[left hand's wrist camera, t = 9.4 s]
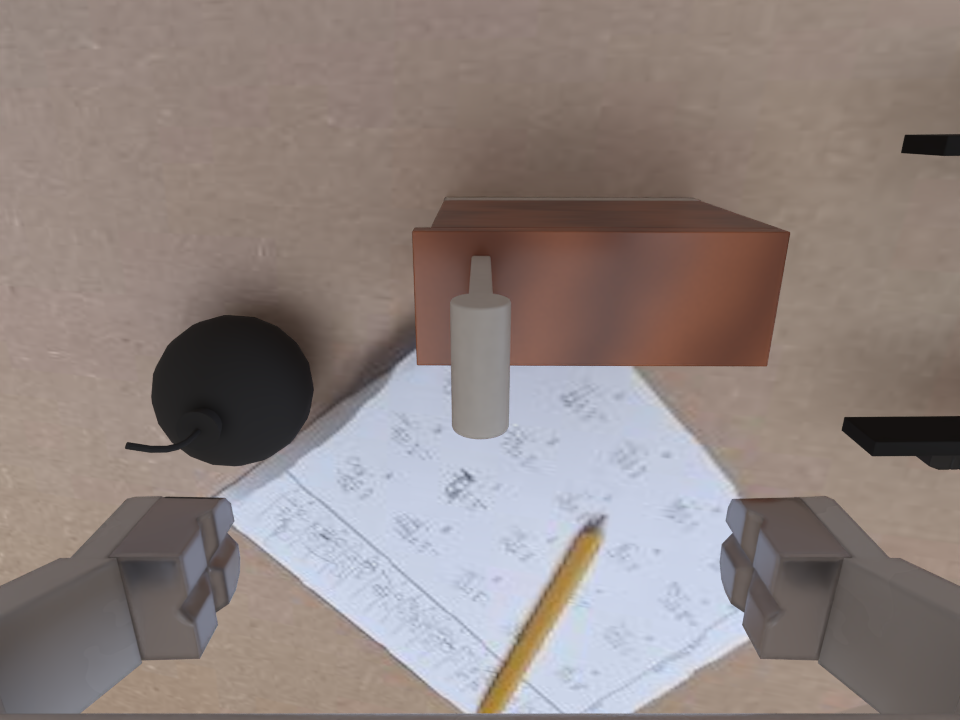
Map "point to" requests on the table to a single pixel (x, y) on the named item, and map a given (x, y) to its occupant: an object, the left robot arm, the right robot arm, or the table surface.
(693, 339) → the lid
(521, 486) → the table surface
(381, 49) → the table surface
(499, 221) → the chest
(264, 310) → the table surface
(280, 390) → the bomb
